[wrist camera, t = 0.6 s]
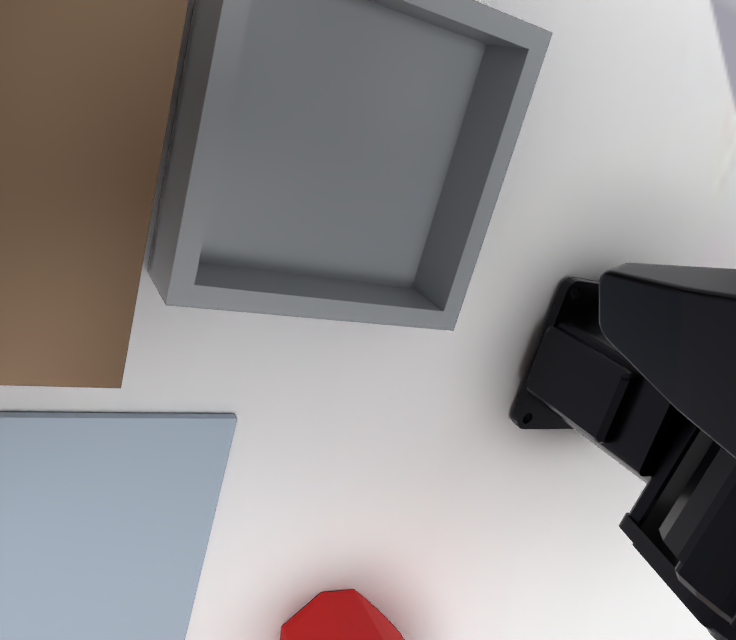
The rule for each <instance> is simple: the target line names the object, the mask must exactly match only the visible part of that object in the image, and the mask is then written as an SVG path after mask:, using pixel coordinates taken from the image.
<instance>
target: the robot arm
mask: <svg viewBox="0 0 736 640" xmlns="http://www.w3.org/2000/svg"><path fill="white" fill-rule="evenodd" d="M572 290H573V291H572ZM571 292H572V293H571ZM511 418H512V421H513V422H514V423H515V424H516V425H517V426H518V427H519V428H521V429H575V430H577V431H578V432H579V433H581V434H582V435H583V436H585V437H586V438H587V439H589V440H590V441H591V442H593V443H594V444H595V445H597V446H598V447H599V448H600V449H602V450H603V451H604V452H606V453H607V454H608V455H610V456H611V457H612V458H614V459H615V460H616V461H618V462H619V463H620V464H622V465H623V466H624V467H626V468H627V469H628V470H629V471H631V472H632V473H633V474H635V475H636V476H637V477H639V478H640V479H641V480H643V481H644V482H645V483H647V485H646V486H645V488H644V490H643V491H642V493H641V495H640V496H639V498H638V500H637V501H636V503H635V505H634V506H633V508H632V510H631V511H630V513H626V514H625V516H624V518H623V519H622V521H621V523H620V524H619V527H620V528H621V529H622V530H623V532H624V533H625V534H626V535H627V536H628V537H629V539H630V540H631V541H632V542H633V546H634V547H635V548H636V549H637V551H638V552H639V553H640V554H641V555H642V556H643V557H644V559H645V560H646V561H647V562H648V563H649V564H650V566H651V567H652V568H653V569H654V570H655V571H656V572H657V574H658V575H659V576H660V577H661V578H662V579H663V581H664V582H665V583H666V584H667V585H668V586H669V587H670V589H671V590H672V591H673V592H674V593H675V594H676V595H677V597H678V598H679V599H680V600H681V601H682V602H683V604H684V605H685V606H686V607H687V608H688V609H689V610H690V612H691V613H692V614H693V615H694V616H695V617H696V619H697V620H698V621H699V622H700V623H701V624H702V625H703V626H705V627H706V628H707V630H708V631H709V633H710V634H711V635H712V636H713V637H714V638H715V639H716V640H736V269H724V268H707V267H690V266H673V265H656V264H639V263H626V264H622V265H620V266H618V267H615V268H613V269H610V270H608V271H606V272H604V273H603V274H602V276H601V278H600V281H593V280H587V279H580V278H574V277H572V278H568V279H566V280H565V281H564V282H563V283H562V284H561V286H560V288H559V291H558V293H557V296H556V299H555V301H554V304H553V306H552V309H551V312H550V314H549V317H548V320H547V322H546V325H545V328H544V330H543V333H542V336H541V338H540V341H539V344H538V346H537V349H536V352H535V354H534V357H533V360H532V362H531V365H530V368H529V370H528V373H527V376H526V378H525V381H524V384H523V386H522V389H521V391H520V394H519V397H518V399H517V402H516V405H515V407H514V410H513V413H512V417H511Z"/></svg>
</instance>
